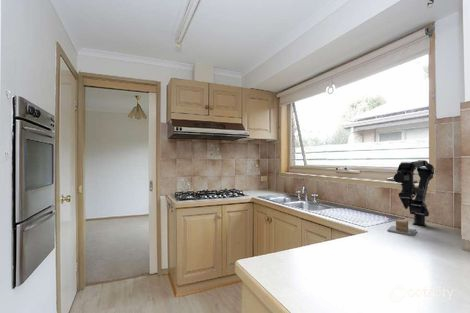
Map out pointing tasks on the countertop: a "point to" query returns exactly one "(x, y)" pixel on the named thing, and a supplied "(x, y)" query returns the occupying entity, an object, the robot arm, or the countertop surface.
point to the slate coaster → (408, 232)
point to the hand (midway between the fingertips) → (407, 207)
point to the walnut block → (401, 225)
